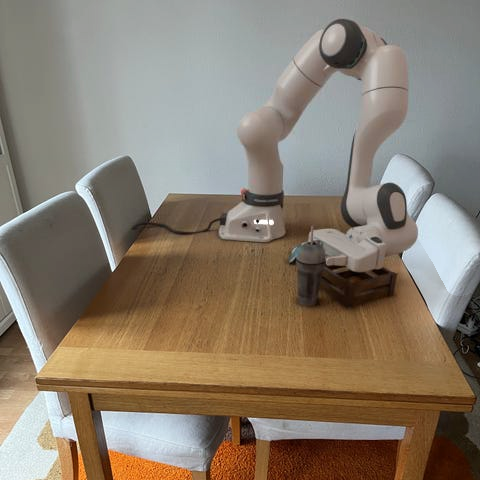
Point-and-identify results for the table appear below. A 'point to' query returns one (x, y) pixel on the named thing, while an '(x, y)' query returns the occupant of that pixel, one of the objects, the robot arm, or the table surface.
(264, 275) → the table surface
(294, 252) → the decorative butterfly
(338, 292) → the crate
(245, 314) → the table surface
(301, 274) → the beverage cup
